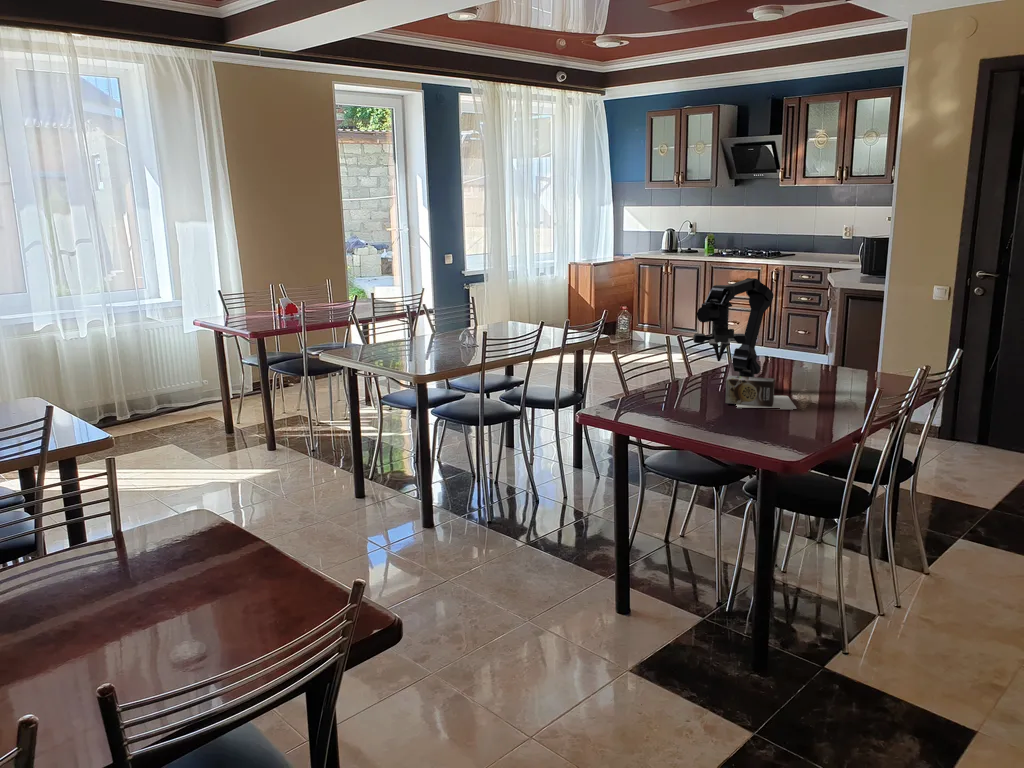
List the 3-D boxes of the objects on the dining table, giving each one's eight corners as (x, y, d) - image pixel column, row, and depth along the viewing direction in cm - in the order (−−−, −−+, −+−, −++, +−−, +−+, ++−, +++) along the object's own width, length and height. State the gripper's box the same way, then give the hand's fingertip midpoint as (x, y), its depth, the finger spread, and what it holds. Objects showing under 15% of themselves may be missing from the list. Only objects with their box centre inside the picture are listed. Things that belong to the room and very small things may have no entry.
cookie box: (725, 378, 280) (773, 381, 274) (728, 375, 286) (775, 377, 280) (725, 403, 282) (772, 407, 276) (728, 399, 288) (774, 402, 282)
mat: (731, 396, 295) (731, 394, 295) (787, 397, 292) (787, 395, 291) (737, 408, 277) (737, 406, 277) (796, 409, 274) (796, 407, 274)
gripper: (695, 322, 285) (694, 365, 288) (749, 322, 282) (747, 365, 285) (693, 318, 296) (692, 359, 299) (745, 318, 293) (743, 359, 296)
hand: (718, 361), depth 295 cm, fingers closed
